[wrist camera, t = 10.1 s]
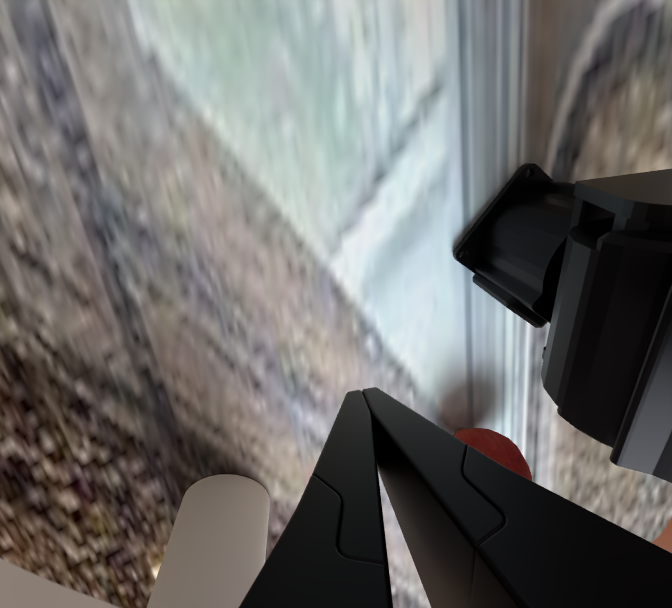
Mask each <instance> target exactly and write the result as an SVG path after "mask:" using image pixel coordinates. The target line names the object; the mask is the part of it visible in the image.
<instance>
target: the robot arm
mask: <svg viewBox="0 0 672 608" xmlns="http://www.w3.org/2000/svg"><path fill="white" fill-rule="evenodd" d="M528 169H530V174H529V176H528V177H526V172H527V170H528ZM462 251H465V254H464V256H462V257H460V253H461V252H462ZM453 257H454V258H455V260H457V261H458V262H460V263H461V264H462V265H464V266H465V267H467V268H468V269H469V270H471V271H472V272H474V273H475V275H474V276H473V282H474V283H475V284H477V285H478V286H479V287H481V288H482V289H483V290H484V291H486V292H487V293H488V294H490V295H491V296H492V297H494V298H495V299H496V300H498V301H499V302H500V303H502V304H503V305H504V306H506V307H507V308H508V309H510V310H511V311H513V312H514V313H515V314H517V315H518V316H520V317H521V318H523V319H524V320H526V321H527V322H528V323H530V324H531V325H533V326H534V327H536V328H542V327H543V326H544V325H545V324H546V323H547V322H549V323H550V329H549V334H548V339H547V344H546V347H544V349H543V354H542V358H543V365H542V370H541V377H542V382H543V387H544V389H545V390H546V391H547V393H548V394H549V396H550V397H551V398H552V400H553V401H554V402H555V404H556V405H557V406H558V409H557V412H558V414H559V415H560V416H561V417H562V418H564V419H565V420H566V421H567V422H569V423H570V424H571V425H573V426H574V427H575V428H577V429H578V430H579V431H581V432H583V433H584V434H586V435H588V436H590V437H591V438H593V439H595V440H597V441H598V442H600V443H603V444H605V445H607V446H610V447H612V448H613V449H612V452H611V455H610V458H609V459H610V461H611V462H612V463H614V464H615V465H617V466H621V467H624V468H628V469H632V470H636V471H640V472H643V473H647V474H651V475H654V476H656V477H659V478H661V479H664V480H666V481H668V482H671V483H672V169H666V170H658V171H650V172H643V173H635V174H628V175H620V176H613V177H605V178H597V179H590V180H582V181H576V183H575V184H572V183H564V182H556V181H553V180H552V179H551V178H550V177H549V176H548V175H547V174H546V173H545V172H544V171H543V170H542V169H541V168H539V167H538V166H537V165H536V164H532V163H526V164H524V165H522V166H521V167H520V168H519V169H518V171H517V172H516V173H515V174H514V176H513V177H512V178H511V179H510V181H509V182H508V183H507V184H506V186H505V187H504V188H503V189H502V191H501V192H500V193H499V194H498V196H497V197H496V198H495V199H494V201H493V202H492V203H491V204H490V206H489V207H488V208H487V209H486V211H485V212H484V213H483V214H482V216H481V217H480V218H479V220H478V221H477V222H476V223H475V225H474V226H473V227H472V228H471V230H470V231H469V232H468V233H467V235H466V236H465V237H464V238H463V240H462V241H461V242H460V243H459V245H458V246H457V247H456V248H455V250H454V252H453ZM378 471H379V474H380V476H381V479H382V481H383V484H384V487H385V489H386V492H387V494H388V497H389V499H390V502H391V505H392V507H393V510H394V512H395V515H396V517H397V520H398V523H399V525H400V528H401V530H402V533H403V535H404V538H405V541H406V543H407V546H408V548H409V551H410V554H411V556H412V559H413V561H414V564H415V566H416V569H417V572H418V574H419V577H420V579H421V582H422V584H423V587H424V590H425V592H426V595H427V597H428V600H429V602H430V605H431V608H672V553H670V552H668V551H666V550H664V549H662V548H660V547H658V546H656V545H654V544H652V543H650V542H649V541H647V540H645V539H643V538H641V537H639V536H637V535H635V534H633V533H631V532H629V531H627V530H625V529H623V528H621V527H619V526H617V525H616V524H614V523H612V522H610V521H608V520H606V519H604V518H602V517H600V516H598V515H596V514H594V513H592V512H590V511H588V510H586V509H584V508H583V507H581V506H579V505H577V504H575V503H573V502H571V501H569V500H567V499H565V498H563V497H561V496H559V495H557V494H555V493H553V492H551V491H549V490H548V489H546V488H544V487H542V486H540V485H538V484H536V483H534V482H532V481H530V480H528V479H526V478H525V477H523V476H521V475H519V474H517V473H515V472H513V471H512V470H510V469H508V468H506V467H504V466H503V465H501V464H499V463H498V462H496V461H494V460H493V459H491V458H489V457H487V456H486V455H484V454H482V453H481V452H479V451H478V450H476V449H475V448H473V447H471V446H468V445H467V444H466V443H464V442H462V441H461V440H459V439H458V438H456V437H454V436H453V435H451V434H450V433H448V432H447V431H445V430H443V429H442V428H440V427H439V426H437V425H435V424H434V423H432V422H431V421H429V420H428V419H426V418H424V417H423V416H421V415H420V414H418V413H416V412H415V411H413V410H412V409H410V408H408V407H407V406H405V405H404V404H402V403H401V402H399V401H397V400H396V399H394V398H393V397H391V396H389V395H388V394H386V393H385V392H383V391H381V390H380V389H378V388H376V387H373V388H368V389H363V391H361V390H356V391H350V392H348V393H347V394H346V396H345V398H344V401H343V403H342V406H341V408H340V410H339V413H338V415H337V417H336V420H335V422H334V424H333V427H332V429H331V431H330V434H329V436H328V438H327V441H326V443H325V445H324V448H323V450H322V452H321V455H320V457H319V460H318V462H317V464H316V467H315V469H314V471H313V474H312V476H311V477H310V480H309V482H308V484H307V487H306V489H305V491H304V493H303V495H302V497H301V500H300V502H299V504H298V506H297V508H296V510H295V512H294V514H293V515H292V517H291V519H290V521H289V523H288V524H287V526H286V528H285V530H284V532H283V533H282V535H281V537H280V538H279V540H278V542H277V543H276V545H275V547H274V548H273V550H272V552H271V554H270V555H269V557H268V559H267V560H266V562H265V564H264V565H263V567H262V569H261V570H260V572H259V574H258V576H257V577H256V579H255V581H254V582H253V584H252V586H251V587H250V589H249V591H248V593H247V594H246V596H245V598H244V599H243V601H242V603H241V604H240V606H239V608H393V602H392V593H391V584H390V575H389V567H388V558H387V549H386V540H385V531H384V522H383V513H382V504H381V495H380V486H379V477H378Z"/></svg>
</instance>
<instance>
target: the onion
mask: <svg viewBox="0 0 672 608" xmlns="http://www.w3.org/2000/svg"><path fill="white" fill-rule="evenodd" d="M454 437H456V438H458V439H459V440H461V441H462V442H464V443H466V444H467V445H468V446H471V447H473V448H475V449H476V450H478V451H479V452H481V453H482V454H484V455H486V456H487V457H489V458H491V459H493V460H494V461H496V462H498V463H499V464H501V465H503V466H504V467H506V468H508V469H510V470H512V471H513V472H515V473H517V474H519V475H521V476H523V477H525V478H526V479H528V480H530V481H532V475H531V472H530V469H529V466H528V464H527V463H526V461H525V459H524V457H523V455H522V454H521V452H520V450H519V449H518V447H517V446H516V445H515V444H514V443H513V442H512V441H511V440H510V439H509V438H507V437H505V436H503V435H501V434H499V433H497V432H494V431H492V430H490V429H483V428H468V429H459V430H457V431H456V433H455V434H454Z"/></svg>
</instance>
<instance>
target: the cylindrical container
mask: <svg viewBox="0 0 672 608" xmlns="http://www.w3.org/2000/svg"><path fill="white" fill-rule="evenodd" d="M269 506H270V498H269V495H268V493H267V491H266V490H265V488H264V487H263V486H262V485H261V484H259V483H258V482H256V481H254V480H252V479H250V478H247V477H244V476H240V475H233V474H220V475H214V476H209V477H206V478H203V479H201V480H199V481H197V482H196V483H194V484H193V485H192V486H190V487H189V489H188V490H187V491H186V493H185V495H184V497H183V500H182V503H181V506H180V509H179V512H178V515H177V518H176V521H175V524H174V527H173V530H172V533H171V536H170V539H169V542H168V545H167V548H166V551H165V554H164V557H163V560H162V563H161V566H160V569H159V572H158V575H157V578H156V581H155V584H154V588H153V591H152V594H151V597H150V600H149V603H148V606H147V608H239V606H240V604H241V603H242V601H243V599H244V598H245V596H246V594H247V593H248V591H249V589H250V587H251V586H252V584H253V582H254V581H255V579H256V577H257V576H258V574H259V572H260V570H261V569H262V567H263V565H264V564H265V555H266V543H267V531H268V519H269Z"/></svg>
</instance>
